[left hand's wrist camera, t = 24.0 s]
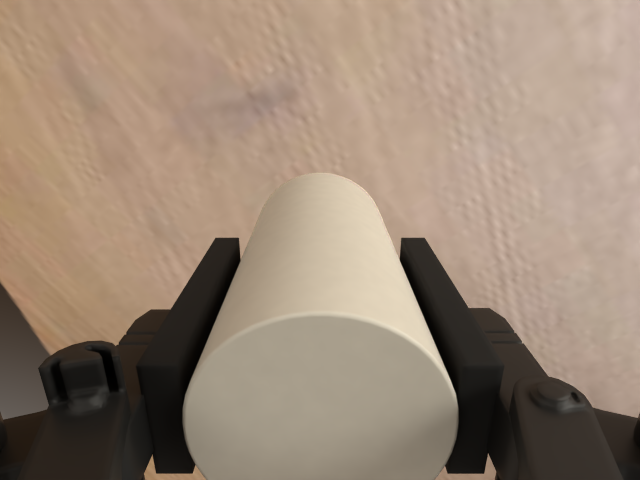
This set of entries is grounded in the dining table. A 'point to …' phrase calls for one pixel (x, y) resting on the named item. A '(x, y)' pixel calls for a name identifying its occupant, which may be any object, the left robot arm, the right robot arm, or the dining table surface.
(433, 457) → the canister
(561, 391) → the left robot arm
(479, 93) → the dining table surface
